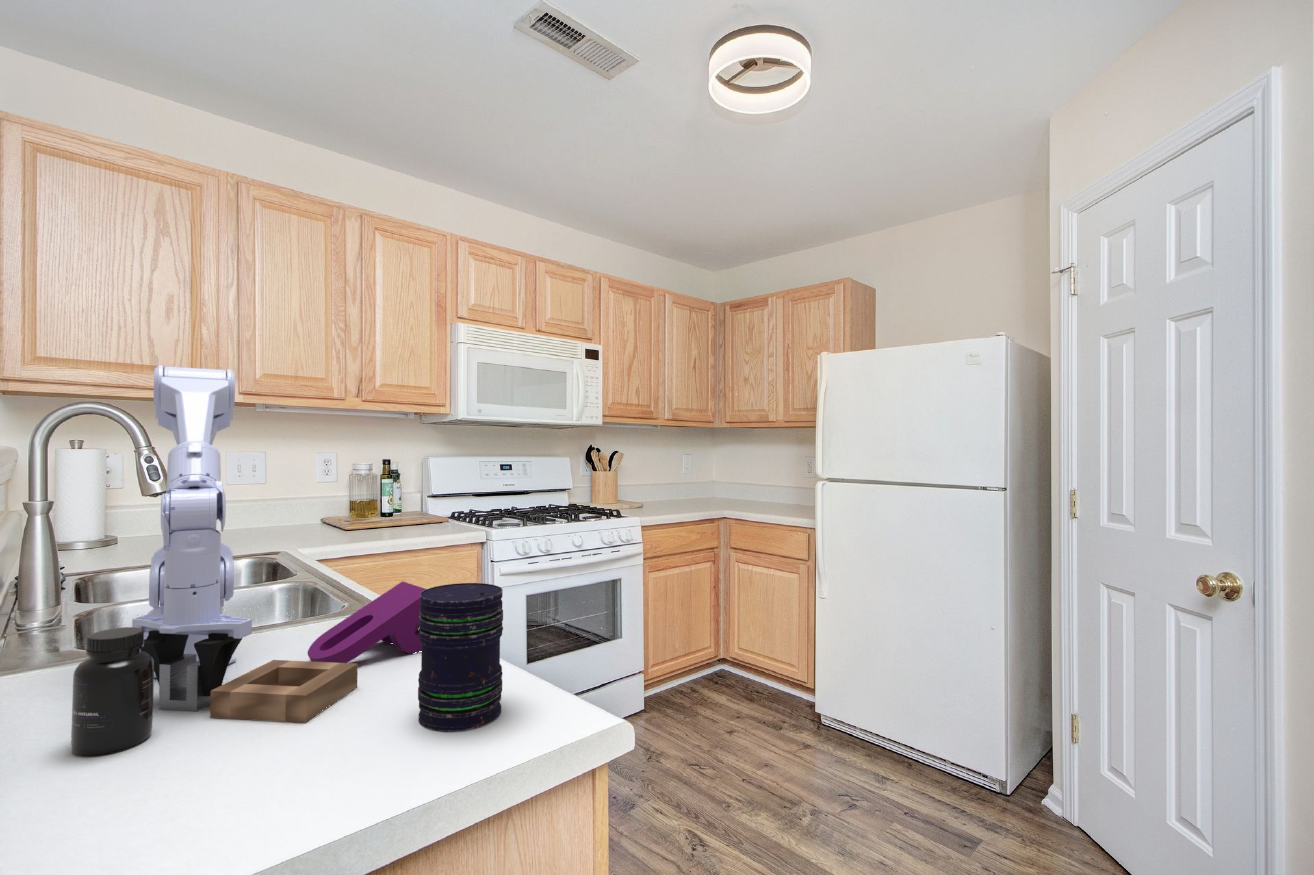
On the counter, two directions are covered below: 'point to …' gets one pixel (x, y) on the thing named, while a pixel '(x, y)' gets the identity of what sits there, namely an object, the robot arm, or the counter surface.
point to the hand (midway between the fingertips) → (191, 692)
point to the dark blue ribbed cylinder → (460, 656)
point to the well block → (284, 691)
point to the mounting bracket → (374, 627)
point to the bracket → (181, 685)
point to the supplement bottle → (112, 693)
